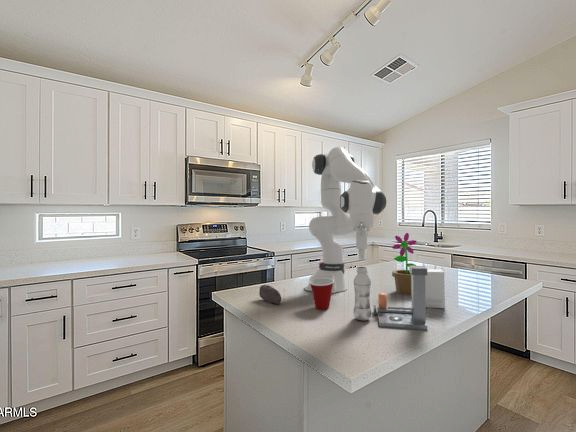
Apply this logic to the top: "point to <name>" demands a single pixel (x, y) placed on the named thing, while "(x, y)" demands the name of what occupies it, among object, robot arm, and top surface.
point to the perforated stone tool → (270, 294)
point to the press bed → (418, 305)
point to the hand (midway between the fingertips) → (361, 258)
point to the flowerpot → (403, 275)
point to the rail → (393, 310)
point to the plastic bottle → (362, 295)
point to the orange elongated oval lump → (382, 301)
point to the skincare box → (434, 289)
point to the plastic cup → (321, 292)
